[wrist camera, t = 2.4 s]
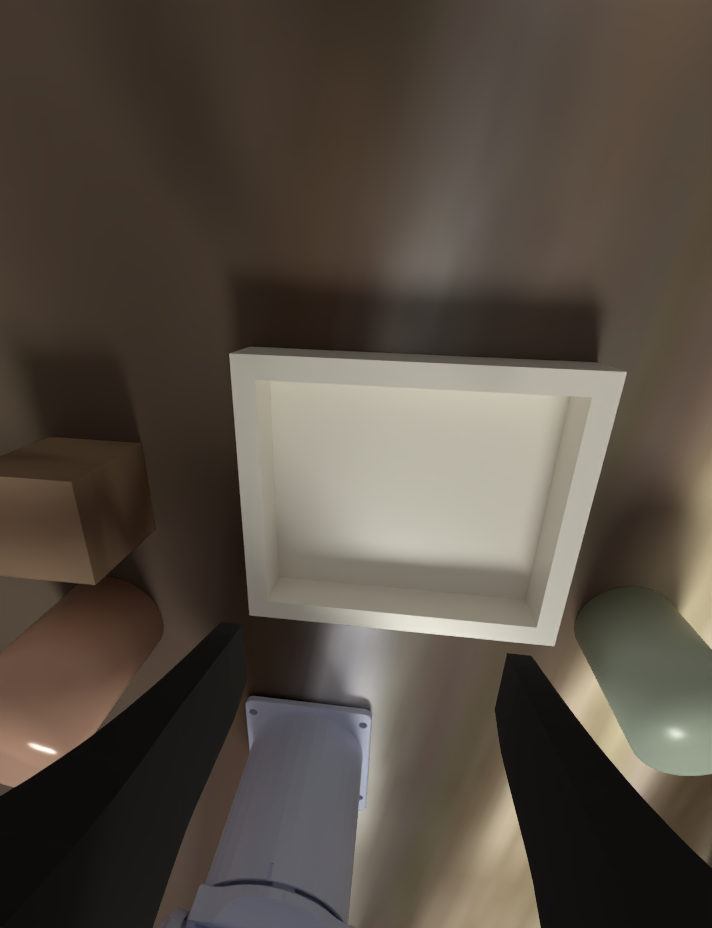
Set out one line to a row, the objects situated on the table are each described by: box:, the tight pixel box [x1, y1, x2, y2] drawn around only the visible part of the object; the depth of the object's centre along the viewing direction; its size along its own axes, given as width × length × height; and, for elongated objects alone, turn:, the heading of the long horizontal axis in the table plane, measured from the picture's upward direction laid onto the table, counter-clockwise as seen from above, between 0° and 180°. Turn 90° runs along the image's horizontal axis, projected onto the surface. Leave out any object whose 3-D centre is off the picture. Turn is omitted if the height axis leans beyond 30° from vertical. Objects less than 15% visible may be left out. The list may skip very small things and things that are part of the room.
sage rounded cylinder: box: [574, 587, 712, 776], centre depth 20 cm, size 5×5×6 cm
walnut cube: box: [0, 437, 156, 585], centre depth 20 cm, size 5×5×5 cm
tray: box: [229, 347, 627, 646], centre depth 20 cm, size 13×15×2 cm
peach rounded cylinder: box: [0, 576, 164, 787], centre depth 22 cm, size 6×6×8 cm
